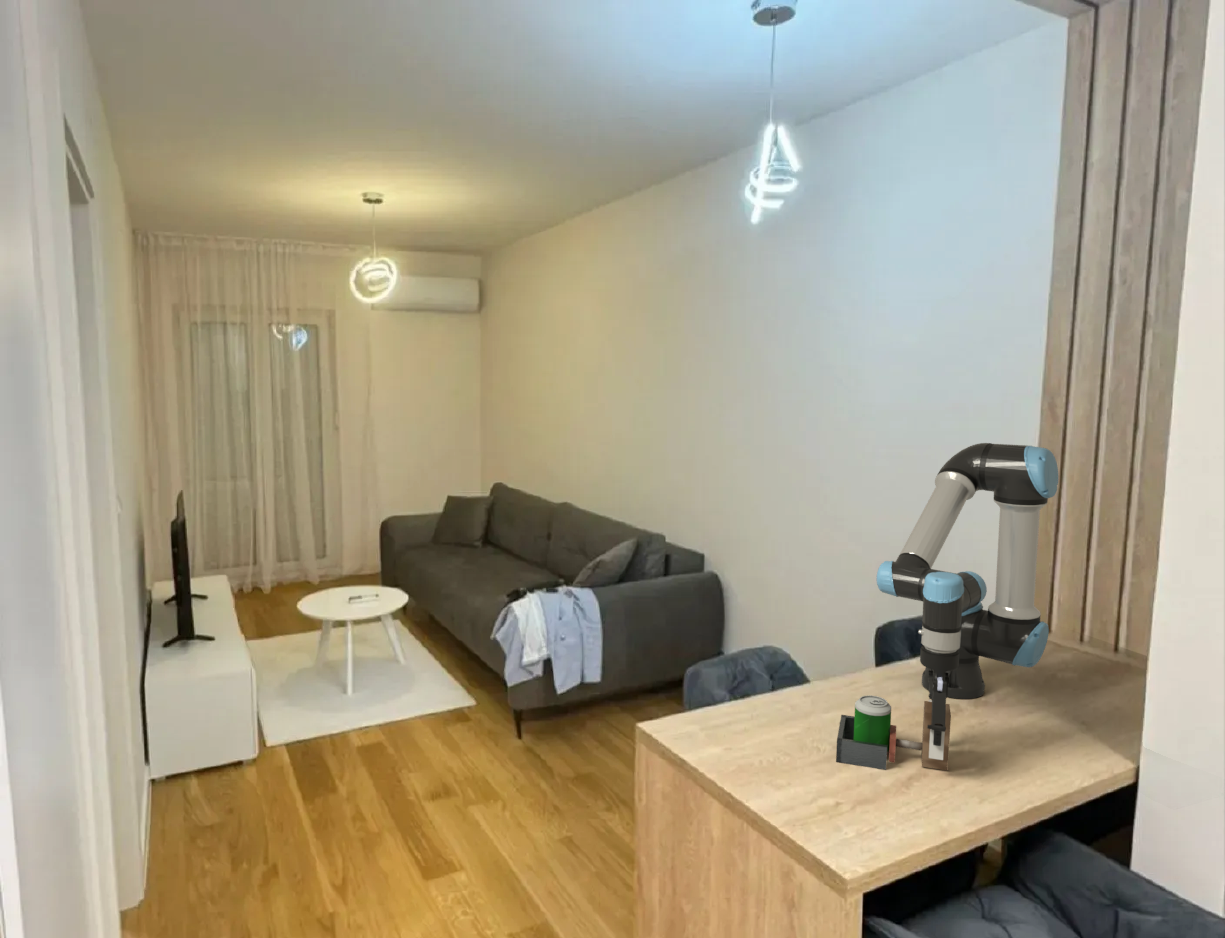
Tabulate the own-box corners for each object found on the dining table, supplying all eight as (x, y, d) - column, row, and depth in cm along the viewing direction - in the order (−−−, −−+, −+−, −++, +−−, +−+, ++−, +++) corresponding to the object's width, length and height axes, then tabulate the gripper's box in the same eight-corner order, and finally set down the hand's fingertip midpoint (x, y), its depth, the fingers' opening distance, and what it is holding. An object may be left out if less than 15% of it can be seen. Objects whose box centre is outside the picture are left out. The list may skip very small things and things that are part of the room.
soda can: (891, 763, 172) (894, 709, 170) (854, 760, 173) (857, 706, 172) (886, 746, 179) (889, 695, 178) (851, 743, 181) (853, 692, 179)
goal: (887, 742, 181) (888, 721, 181) (886, 770, 169) (887, 747, 169) (840, 735, 185) (841, 714, 184) (836, 762, 173) (836, 739, 172)
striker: (946, 756, 174) (949, 703, 173) (947, 771, 168) (951, 716, 166) (889, 747, 178) (891, 695, 177) (888, 762, 172) (891, 708, 170)
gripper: (919, 626, 182) (915, 716, 184) (921, 666, 158) (916, 768, 161) (956, 630, 179) (950, 721, 182) (963, 671, 156) (957, 774, 159)
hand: (934, 743), depth 172 cm, fingers open, 13 cm apart
